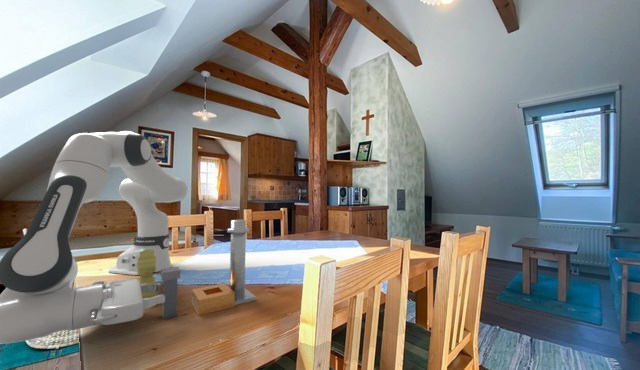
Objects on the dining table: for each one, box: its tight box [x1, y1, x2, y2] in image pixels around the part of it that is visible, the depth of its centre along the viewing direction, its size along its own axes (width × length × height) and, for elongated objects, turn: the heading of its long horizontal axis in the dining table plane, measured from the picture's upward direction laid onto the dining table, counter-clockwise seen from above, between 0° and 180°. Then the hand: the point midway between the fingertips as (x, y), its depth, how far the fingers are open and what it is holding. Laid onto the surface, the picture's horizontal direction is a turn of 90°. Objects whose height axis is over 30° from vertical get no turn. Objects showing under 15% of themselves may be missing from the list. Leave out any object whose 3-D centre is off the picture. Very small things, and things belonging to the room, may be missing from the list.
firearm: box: [137, 249, 156, 298], centre depth 85 cm, size 4×30×15 cm, turn 33°
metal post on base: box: [190, 219, 257, 316], centre depth 79 cm, size 16×10×24 cm, turn 127°
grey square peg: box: [160, 266, 181, 320], centre depth 70 cm, size 4×4×12 cm
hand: (162, 291), depth 69 cm, fingers open, 8 cm apart
